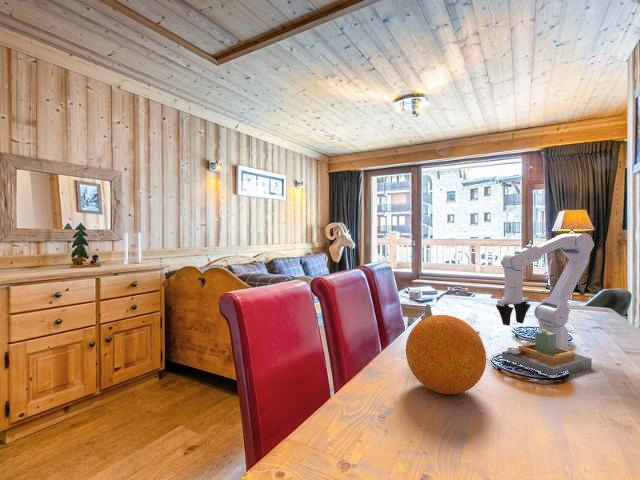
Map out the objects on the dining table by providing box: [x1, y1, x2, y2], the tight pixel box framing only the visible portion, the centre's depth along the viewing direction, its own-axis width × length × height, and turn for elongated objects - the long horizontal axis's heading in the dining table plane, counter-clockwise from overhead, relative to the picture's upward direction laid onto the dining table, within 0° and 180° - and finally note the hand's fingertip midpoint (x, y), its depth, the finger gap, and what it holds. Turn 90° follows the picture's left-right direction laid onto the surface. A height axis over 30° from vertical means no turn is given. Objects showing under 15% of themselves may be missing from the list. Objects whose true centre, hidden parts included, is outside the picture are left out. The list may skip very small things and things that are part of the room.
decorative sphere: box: [405, 314, 487, 395], centre depth 90 cm, size 20×20×20 cm
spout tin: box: [534, 329, 556, 355], centre depth 109 cm, size 4×4×8 cm
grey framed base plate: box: [501, 342, 593, 375], centre depth 109 cm, size 20×16×5 cm
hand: (513, 323), depth 123 cm, fingers open, 7 cm apart
